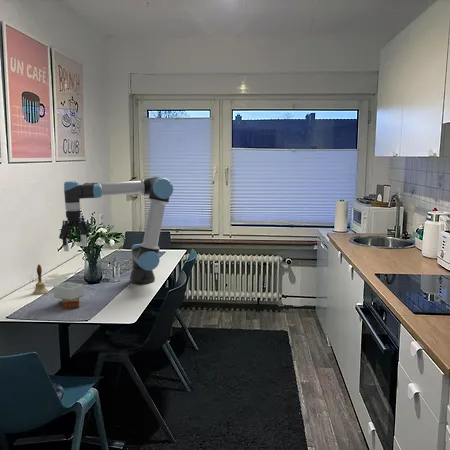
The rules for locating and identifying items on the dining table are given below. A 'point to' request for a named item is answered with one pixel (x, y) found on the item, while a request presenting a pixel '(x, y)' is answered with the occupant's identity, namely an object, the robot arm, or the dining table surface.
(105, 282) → the dining table surface
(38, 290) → the hand bell
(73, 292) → the crate
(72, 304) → the carton
